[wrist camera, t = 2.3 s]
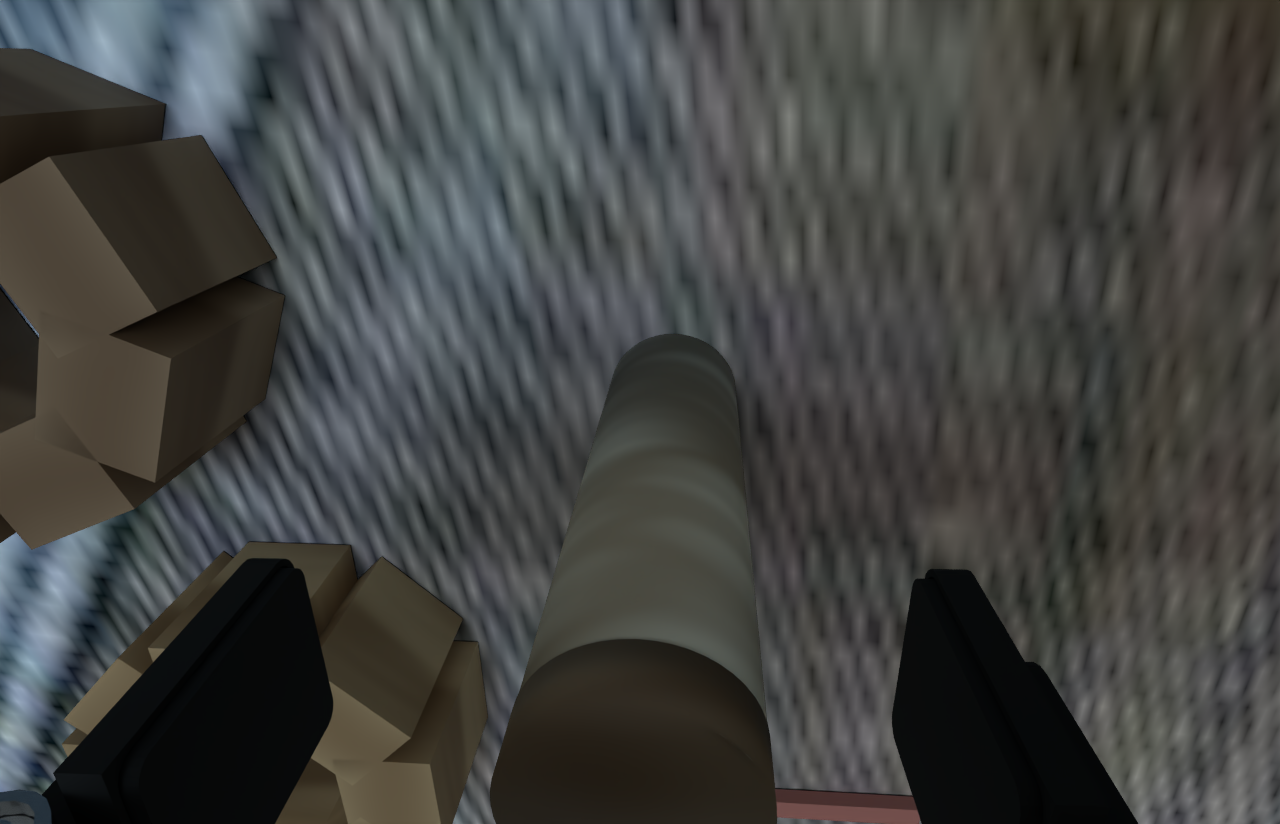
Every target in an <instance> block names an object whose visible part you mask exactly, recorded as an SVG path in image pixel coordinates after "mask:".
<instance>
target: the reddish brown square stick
mask: <svg viewBox="0 0 1280 824" xmlns="http://www.w3.org/2000/svg"><path fill="white" fill-rule="evenodd" d="M775 793H776V803H777V817H781V818H798V819H816V820H833V821H850V822H867V823H884V824H919V821H920V817H919V814H918V811H917V807H916V804H915V801H914V798H913V797H910V796H893V795H875V794H857V793H839V792H821V791H803V790H785V789H775Z"/></svg>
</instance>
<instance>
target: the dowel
mask: <svg viewBox="0 0 1280 824" xmlns="http://www.w3.org/2000/svg"><path fill="white" fill-rule="evenodd" d="M490 802H491V808H492V813H493V817H494V819H495V822H496V824H777V803H776V793H775V783H774V772H773V762H772V752H771V741H770V733H769V728H768V723H767V717H766V706H765V695H764V685H763V674H762V663H761V653H760V642H759V632H758V621H757V610H756V600H755V589H754V578H753V568H752V557H751V546H750V536H749V525H748V515H747V504H746V493H745V483H744V472H743V461H742V451H741V440H740V429H739V419H738V408H737V398H736V387H735V381H734V377H733V374H732V371H731V369H730V367H729V365H728V364H727V362H726V361H725V359H724V358H723V357H722V356H721V355H720V354H719V352H717V351H716V350H715V349H714V348H713V347H711V346H710V345H708V344H707V343H705V342H703V341H701V340H699V339H696V338H693V337H690V336H686V335H680V334H664V335H659V336H654V337H651V338H648V339H646V340H644V341H642V342H640V343H638V344H637V345H635V346H634V347H632V348H631V349H630V350H629V351H628V352H627V353H626V354H625V355H624V356H623V357H622V359H621V360H620V362H619V363H618V365H617V367H616V369H615V371H614V374H613V377H612V381H611V384H610V387H609V391H608V394H607V398H606V401H605V404H604V408H603V411H602V414H601V418H600V421H599V425H598V428H597V431H596V435H595V438H594V441H593V445H592V448H591V452H590V455H589V458H588V462H587V465H586V469H585V472H584V475H583V479H582V482H581V485H580V489H579V492H578V496H577V499H576V502H575V506H574V509H573V512H572V516H571V519H570V523H569V526H568V529H567V533H566V536H565V539H564V543H563V546H562V550H561V553H560V556H559V560H558V563H557V566H556V570H555V573H554V577H553V580H552V583H551V587H550V590H549V593H548V597H547V600H546V604H545V607H544V610H543V614H542V617H541V621H540V624H539V627H538V631H537V634H536V637H535V641H534V644H533V648H532V651H531V654H530V658H529V661H528V664H527V668H526V671H525V675H524V678H523V681H522V685H521V688H520V691H519V694H518V696H517V698H516V701H515V704H514V707H513V709H512V713H511V716H510V719H509V723H508V726H507V730H506V733H505V736H504V740H503V743H502V746H501V750H500V753H499V756H498V760H497V763H496V766H495V770H494V773H493V776H492V781H491V788H490Z"/></svg>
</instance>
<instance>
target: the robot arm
mask: <svg viewBox="0 0 1280 824" xmlns="http://www.w3.org/2000/svg"><path fill="white" fill-rule="evenodd" d="M332 713H333V696H332V692H331V687H330V683H329V679H328V674H327V670H326V666H325V662H324V657H323V653H322V649H321V644H320V640H319V636H318V632H317V627H316V623H315V619H314V615H313V610H312V606H311V602H310V597H309V593H308V589H307V585H306V580H305V576H304V574H303V572H302V570H301V569H298V568H294V566H293V564H292V562H291V561H290V560H288V559H281V558H250V559H247V560H246V561H245V562H243V563H242V564H241V566H240V567H239V568H238V569H237V570H236V571H235V572H234V573H233V574H232V576H231V577H230V578H229V579H228V580H227V581H226V582H225V583H224V584H223V586H222V587H221V588H220V589H219V590H218V591H217V592H216V593H215V594H214V595H213V597H212V598H211V599H210V600H209V601H208V602H207V603H206V604H205V605H204V607H203V608H202V609H201V610H200V611H199V612H198V613H197V614H196V615H195V617H194V618H193V619H192V620H191V621H190V622H189V623H188V624H187V625H186V627H185V628H184V629H183V630H182V631H181V632H180V633H179V634H178V635H177V636H176V638H175V639H174V640H173V641H172V642H171V643H170V644H169V645H168V646H167V648H166V649H165V650H164V651H163V652H162V653H161V654H160V655H159V656H158V658H157V659H156V660H155V661H154V662H153V663H152V664H151V665H150V666H149V668H148V669H147V670H146V671H145V672H144V673H143V674H142V675H141V676H140V677H139V679H138V680H137V681H136V682H135V683H134V684H133V685H132V686H131V687H130V689H129V690H128V691H127V692H126V693H125V694H124V695H123V696H122V697H121V699H120V700H119V701H118V702H117V703H116V704H115V705H114V706H113V707H112V708H111V710H110V711H109V712H108V713H107V714H106V715H105V716H104V717H103V718H102V720H101V721H100V722H99V723H98V724H97V725H96V726H95V727H94V728H93V730H92V731H91V732H90V733H89V734H88V735H87V736H86V737H85V738H84V740H83V741H82V742H81V743H80V744H79V745H78V746H77V747H76V748H75V749H74V751H73V752H72V753H71V754H70V755H69V756H68V757H67V758H66V759H65V761H64V762H63V763H62V764H61V765H60V766H59V767H58V768H57V769H56V771H55V772H54V773H53V774H54V776H55V778H56V780H55V781H54V782H53V783H52V784H51V785H50V786H49V788H48V789H47V790H46V791H45V792H44V793H43V794H42V795H40V794H39V793H37V792H35V791H26V790H14V791H7V792H0V824H275V823H276V821H277V819H278V817H279V816H280V814H281V812H282V810H283V808H284V806H285V804H286V803H287V801H288V799H289V797H290V795H291V793H292V792H293V790H294V788H295V786H296V784H297V782H298V781H299V779H300V777H301V775H302V773H303V771H304V770H305V768H306V766H307V764H308V762H309V760H310V759H311V757H312V755H313V753H314V751H315V749H316V747H317V746H318V744H319V742H320V740H321V738H322V736H323V735H324V733H325V731H326V729H327V727H328V725H329V723H330V721H331V717H332ZM892 727H893V734H894V739H895V742H896V746H897V749H898V752H899V755H900V758H901V761H902V764H903V767H904V770H905V773H906V777H907V780H908V783H909V786H910V789H911V792H912V795H913V798H914V801H915V804H916V807H917V811H918V814H919V817H920V820H921V823H922V824H1138V822H1137V821H1136V819H1135V817H1134V816H1133V814H1132V812H1131V811H1130V809H1129V808H1128V806H1127V804H1126V803H1125V801H1124V799H1123V798H1122V796H1121V795H1120V793H1119V791H1118V790H1117V788H1116V786H1115V785H1114V783H1113V782H1112V780H1111V778H1110V777H1109V775H1108V773H1107V772H1106V770H1105V768H1104V767H1103V765H1102V764H1101V762H1100V760H1099V759H1098V757H1097V755H1096V754H1095V752H1094V751H1093V749H1092V747H1091V746H1090V744H1089V742H1088V741H1087V739H1086V737H1085V736H1084V734H1083V733H1082V731H1081V729H1080V728H1079V726H1078V724H1077V723H1076V721H1075V720H1074V718H1073V716H1072V715H1071V713H1070V711H1069V710H1068V708H1067V707H1066V705H1065V703H1064V702H1063V700H1062V698H1061V697H1060V695H1059V693H1058V692H1057V690H1056V689H1055V687H1054V685H1053V684H1052V682H1051V680H1050V679H1049V677H1048V676H1047V674H1046V673H1045V672H1044V670H1043V669H1042V668H1041V666H1039V665H1038V664H1036V663H1034V662H1025V661H1024V660H1023V658H1022V656H1021V655H1020V653H1019V651H1018V649H1017V648H1016V646H1015V644H1014V643H1013V641H1012V639H1011V638H1010V636H1009V634H1008V632H1007V631H1006V629H1005V627H1004V626H1003V624H1002V622H1001V621H1000V619H999V617H998V615H997V614H996V612H995V610H994V609H993V607H992V605H991V604H990V602H989V600H988V598H987V597H986V595H985V593H984V592H983V590H982V588H981V587H980V585H979V583H978V582H977V580H976V578H975V576H974V575H973V574H972V572H971V571H969V570H952V569H930V570H928V571H927V573H926V575H925V579H915V581H914V582H913V586H912V592H911V598H910V605H909V611H908V617H907V623H906V630H905V636H904V642H903V649H902V655H901V661H900V668H899V674H898V680H897V687H896V693H895V699H894V706H893V712H892Z"/></svg>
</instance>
